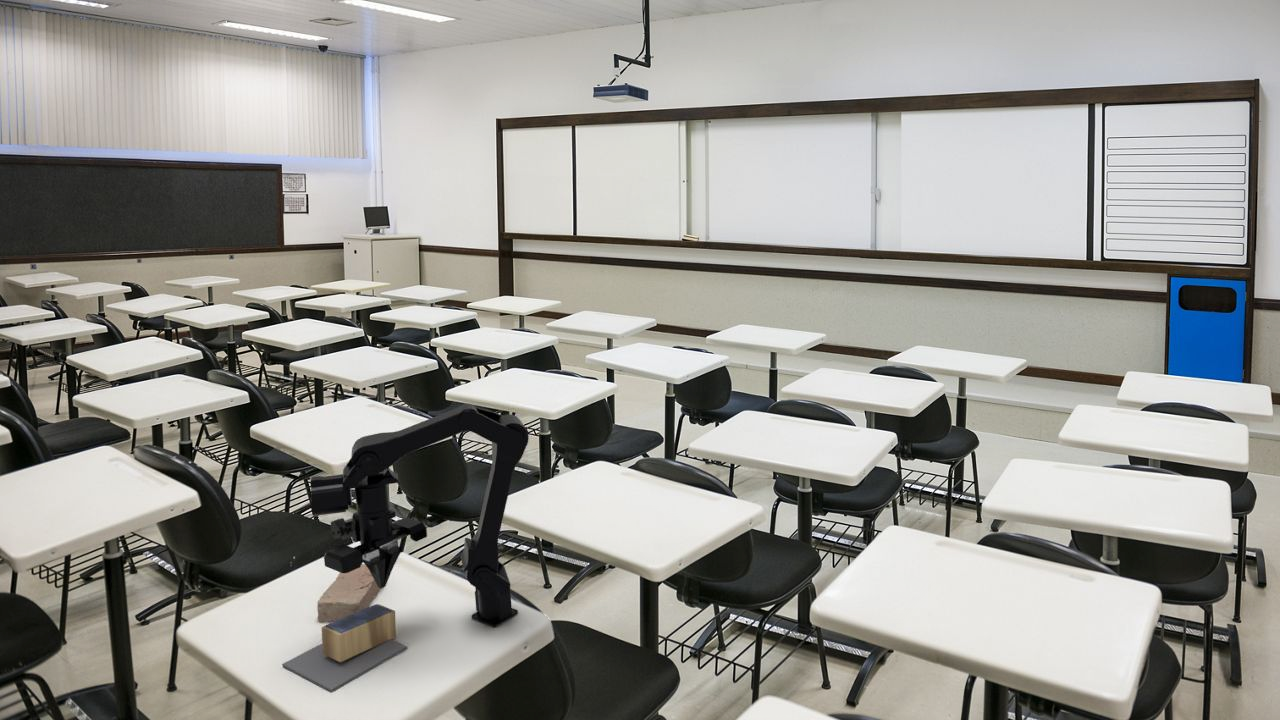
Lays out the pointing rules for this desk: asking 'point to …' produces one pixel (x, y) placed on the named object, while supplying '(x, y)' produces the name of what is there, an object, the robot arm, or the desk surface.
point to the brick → (347, 595)
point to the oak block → (358, 632)
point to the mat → (340, 664)
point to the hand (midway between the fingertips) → (381, 587)
